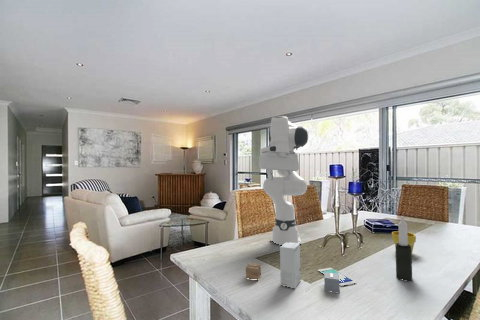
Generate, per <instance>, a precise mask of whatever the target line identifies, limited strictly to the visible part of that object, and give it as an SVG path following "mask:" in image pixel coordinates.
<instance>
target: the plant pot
mask: <svg viewBox="0 0 480 320" xmlns="http://www.w3.org/2000/svg"><path fill="white" fill-rule="evenodd" d="M407 236H408V244H409V245H410V246H411V251H412V252H413V251H414V245H415V243H416V242H417V237H416V236H417V235H416V234H415V233H412V232H409V231H407ZM391 238H392V240H393V242H394V246H395V247H394V248H396V244H397V243H399V230H397V231H392V232H391Z"/></svg>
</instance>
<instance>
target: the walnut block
mask: <svg viewBox="0 0 480 320" xmlns="http://www.w3.org/2000/svg"><path fill="white" fill-rule="evenodd" d="M260 275H261V276H262V264H261V263H254V262H249V263H248V264H247V265H246V266H245V279H246V278H249V279H257V280H258V279H259V277H260ZM260 278H261V277H260ZM259 280H260V279H259Z"/></svg>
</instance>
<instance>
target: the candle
mask: <svg viewBox="0 0 480 320" xmlns="http://www.w3.org/2000/svg"><path fill="white" fill-rule="evenodd" d="M400 217H401V219H400V222H398V231H399V243H397V244H396V247H395V276H396V277H395V278H396V279H397V278H398V279H397V280H400V279H403V280H402V281H404V280H407V281H406V282H408V281H411V282H412V279H413V264H412V263H413V261H412V259H413V255H412V254H413V251H411V246H410V245H409V244H408V236H407V232H408V223H407V222H406V221H405V216H404V215H401V216H400Z"/></svg>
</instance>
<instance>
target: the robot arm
mask: <svg viewBox="0 0 480 320" xmlns="http://www.w3.org/2000/svg"><path fill="white" fill-rule="evenodd" d="M269 129H270V130H269V131H268V141H269V142H268V143H269V145H268V146H265V147H262V148H260V149H259V151H260V155H259V159H258V167H259V169H260V170H265V172H266V174H267V177H268V178H266V179H265V180H264V181H263V183H262V184H263V185H262V189H263V191H264V192H265V194H266V195H268V196H269V197H270V199H271V200H272V202H273V204H274V208H275V209H274V210H275V219H274V226H273V227H272V236H271V238H270V239H271V241H273V242H275V243H276V244H279V245H278V246H280V245H283V244H285V243H286V242H292V243H299V244H301V245H303V243H302V240H301V237H300V235H299V229H298V228H297V227H296V224H297V222H296V219H295V217H296V216H295V215H296V214H295V212H296V211H295V205H294V204H293V203H292V202H291V201H288V200H286V199H285V197H284V196H287V197H288V196H290V197H291V196H292V197H293V196H294V197H295V196H302V195H304V194H306V192H307V189H308V184H307V180H306V179H305V178H303V177H301V176H300V175H299V174H298V173H297V172H298V171H299V169H300V163H299V158H298V157H299V156H298V154H297V153H296V152H295V151H298V149H299V148H303V147H304V146H306V145H307V143H308V141H309V132H308V130H307V128H306V127H305V126H304V125H296V124H294V123H292V122H291V121H290V120H289V117H287V116H284V115H278V116H276V115H275V116H273V117H271V120H270V128H269ZM294 150H295V151H294ZM272 171H276V172H277V174H278V175H280V176H274V175H272ZM273 242H272V243H273ZM276 244H275V245H276Z"/></svg>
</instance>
